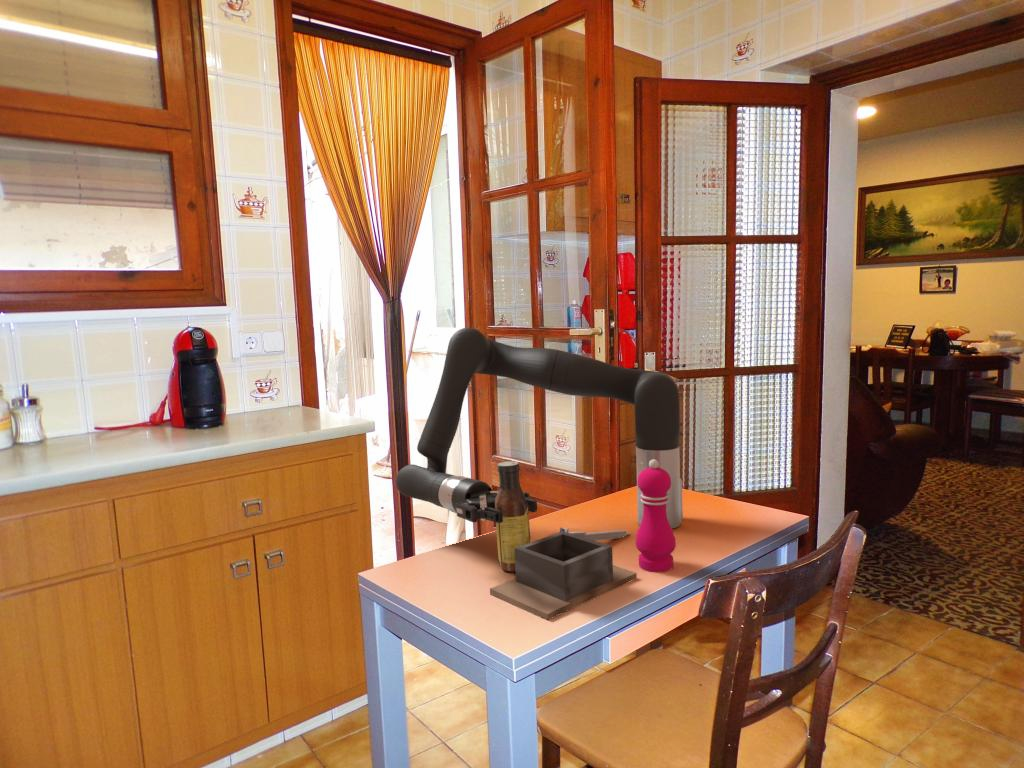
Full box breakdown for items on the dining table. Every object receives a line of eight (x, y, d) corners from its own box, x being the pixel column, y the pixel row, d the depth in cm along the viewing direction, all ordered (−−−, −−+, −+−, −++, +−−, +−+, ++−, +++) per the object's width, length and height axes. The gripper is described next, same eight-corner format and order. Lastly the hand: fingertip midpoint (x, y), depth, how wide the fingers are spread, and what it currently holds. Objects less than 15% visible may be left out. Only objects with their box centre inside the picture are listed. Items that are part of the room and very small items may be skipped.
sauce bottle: (538, 567, 126) (534, 463, 124) (511, 576, 122) (506, 469, 120) (518, 558, 131) (513, 458, 129) (491, 566, 128) (486, 463, 125)
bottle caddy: (578, 558, 129) (577, 523, 129) (636, 578, 119) (635, 539, 118) (490, 594, 115) (488, 554, 114) (547, 620, 104) (545, 576, 104)
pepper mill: (628, 562, 126) (625, 458, 124) (660, 555, 129) (658, 453, 127) (651, 576, 119) (648, 465, 117) (684, 568, 122) (682, 460, 120)
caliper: (559, 562, 129) (558, 530, 128) (556, 560, 130) (554, 529, 129) (630, 536, 142) (629, 507, 141) (626, 534, 142) (625, 506, 142)
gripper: (435, 485, 131) (488, 500, 119) (491, 471, 140) (545, 484, 128) (437, 522, 132) (490, 541, 120) (493, 506, 141) (547, 522, 129)
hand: (518, 512), depth 124 cm, fingers open, 8 cm apart
